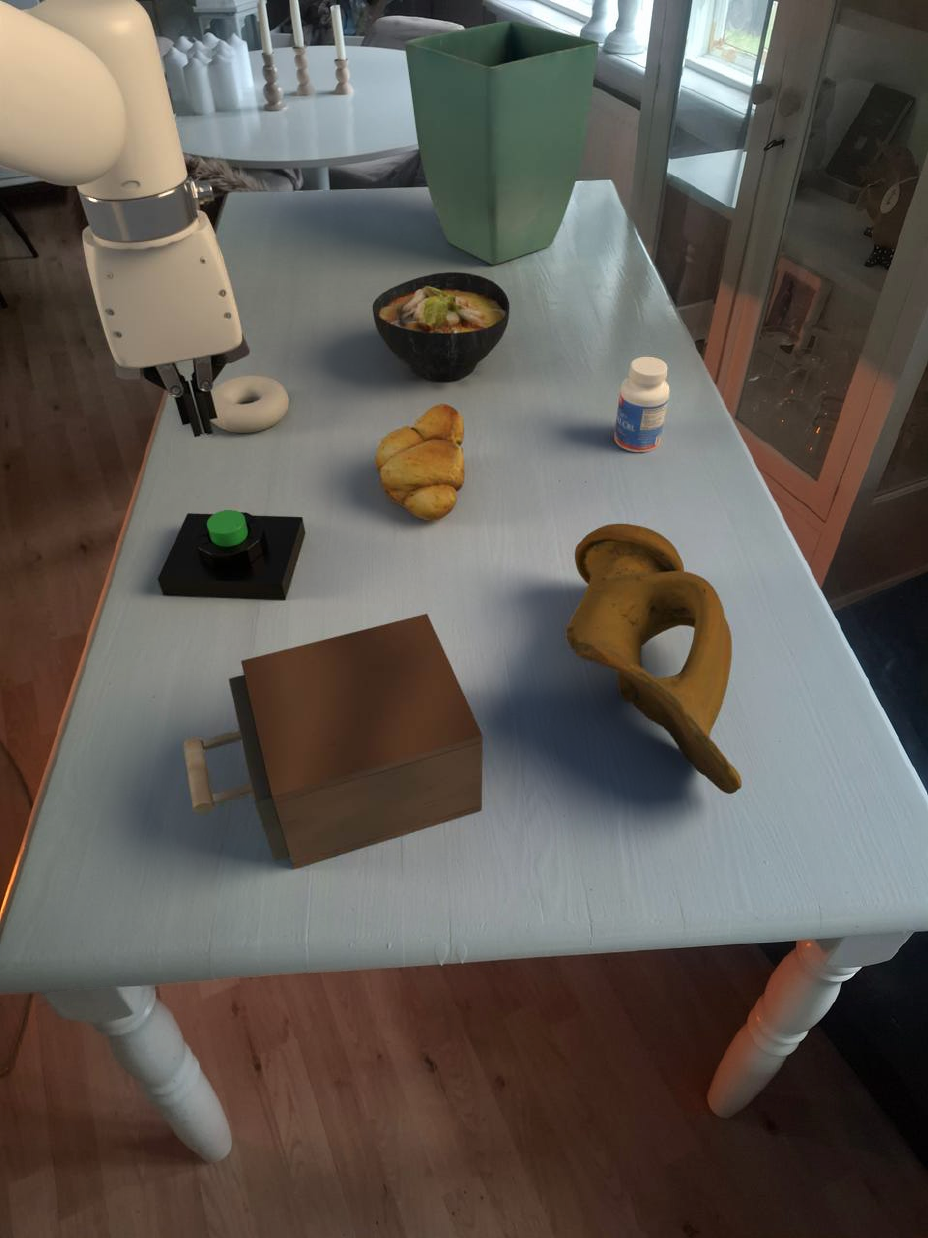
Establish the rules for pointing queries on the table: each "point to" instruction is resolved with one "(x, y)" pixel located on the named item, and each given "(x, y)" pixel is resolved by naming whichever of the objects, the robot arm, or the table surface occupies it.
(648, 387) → the pill bottle
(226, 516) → the button
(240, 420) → the donut
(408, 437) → the bread roll
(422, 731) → the cabinet
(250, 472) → the table surface
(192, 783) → the drawer
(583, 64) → the flower pot
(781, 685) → the table surface
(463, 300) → the bowl
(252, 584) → the block
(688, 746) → the brown looped sculpture
